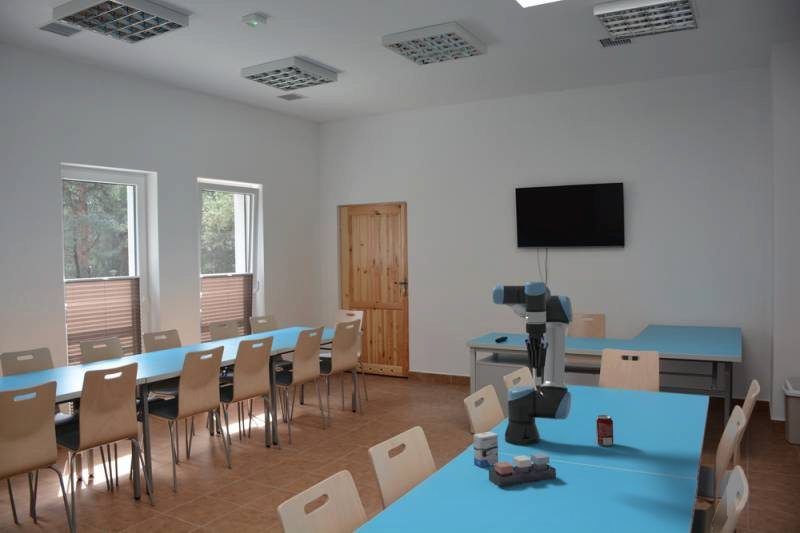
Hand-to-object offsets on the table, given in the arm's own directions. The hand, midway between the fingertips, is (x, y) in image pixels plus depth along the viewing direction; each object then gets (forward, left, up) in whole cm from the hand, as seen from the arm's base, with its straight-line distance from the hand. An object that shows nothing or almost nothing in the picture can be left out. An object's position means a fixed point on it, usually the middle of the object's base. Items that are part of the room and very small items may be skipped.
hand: (537, 384), depth 233 cm
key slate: (+3, -6, -30) cm, 31 cm away
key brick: (-5, -18, -31) cm, 37 cm away
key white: (-1, -12, -30) cm, 32 cm away
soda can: (+10, +43, -33) cm, 55 cm away
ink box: (-20, -5, -33) cm, 39 cm away
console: (-1, -12, -32) cm, 35 cm away
